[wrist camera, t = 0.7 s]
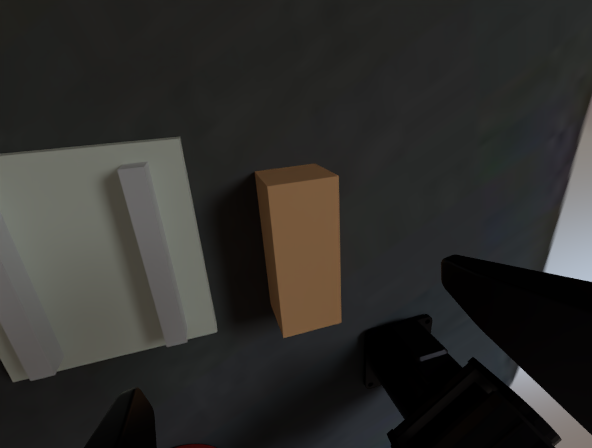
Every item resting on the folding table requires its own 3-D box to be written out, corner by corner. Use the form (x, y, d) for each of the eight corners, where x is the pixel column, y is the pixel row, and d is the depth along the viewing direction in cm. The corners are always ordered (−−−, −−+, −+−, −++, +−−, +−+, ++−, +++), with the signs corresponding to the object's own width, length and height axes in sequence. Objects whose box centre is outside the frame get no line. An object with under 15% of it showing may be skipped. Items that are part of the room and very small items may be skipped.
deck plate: (216, 322, 23) (219, 347, 21) (21, 369, 20) (-1, 403, 18) (179, 136, 18) (178, 141, 16) (-88, 162, 15) (-136, 173, 13)
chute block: (320, 290, 25) (341, 322, 21) (269, 302, 24) (283, 338, 20) (313, 162, 21) (338, 176, 18) (254, 170, 20) (267, 186, 17)
